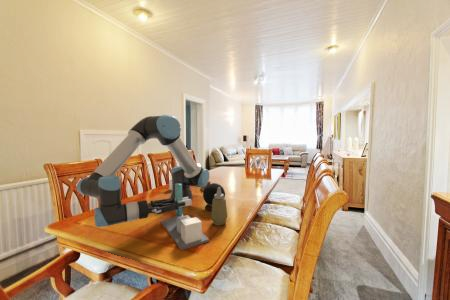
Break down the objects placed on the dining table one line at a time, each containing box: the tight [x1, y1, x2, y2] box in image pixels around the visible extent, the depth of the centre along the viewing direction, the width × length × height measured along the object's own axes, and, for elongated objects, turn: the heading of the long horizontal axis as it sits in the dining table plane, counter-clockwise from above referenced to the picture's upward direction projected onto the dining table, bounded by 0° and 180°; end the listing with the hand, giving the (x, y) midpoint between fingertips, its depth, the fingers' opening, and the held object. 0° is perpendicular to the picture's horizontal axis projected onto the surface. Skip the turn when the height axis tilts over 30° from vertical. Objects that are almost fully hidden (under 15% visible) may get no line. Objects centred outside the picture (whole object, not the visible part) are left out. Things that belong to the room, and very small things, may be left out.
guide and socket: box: [160, 214, 210, 251], centre depth 95 cm, size 30×12×8 cm, turn 31°
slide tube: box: [175, 183, 184, 225], centre depth 92 cm, size 16×3×20 cm, turn 31°
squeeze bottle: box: [211, 187, 228, 226], centre depth 102 cm, size 8×8×18 cm
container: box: [168, 179, 172, 191], centre depth 168 cm, size 8×8×13 cm
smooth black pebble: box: [202, 182, 226, 213], centre depth 123 cm, size 13×13×15 cm
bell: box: [199, 180, 211, 192], centre depth 166 cm, size 12×12×7 cm
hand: (189, 200), depth 100 cm, fingers closed on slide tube, 3 cm apart
